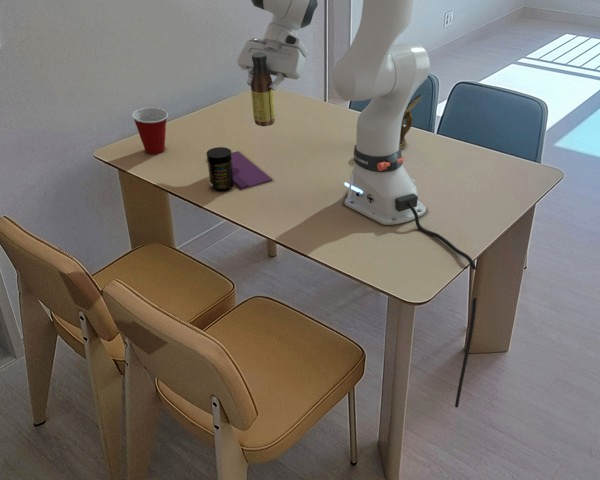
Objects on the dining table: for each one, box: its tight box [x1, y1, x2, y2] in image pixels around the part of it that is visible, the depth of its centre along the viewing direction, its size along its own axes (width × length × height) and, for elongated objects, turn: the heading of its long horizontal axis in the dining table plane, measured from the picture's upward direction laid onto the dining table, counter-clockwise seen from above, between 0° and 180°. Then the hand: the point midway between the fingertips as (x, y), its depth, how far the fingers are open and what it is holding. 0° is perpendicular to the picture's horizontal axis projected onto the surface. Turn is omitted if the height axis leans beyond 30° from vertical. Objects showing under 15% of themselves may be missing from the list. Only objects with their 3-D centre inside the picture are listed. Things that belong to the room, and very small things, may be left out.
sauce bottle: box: [250, 53, 276, 127], centre depth 185 cm, size 7×6×20 cm
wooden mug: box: [399, 93, 422, 151], centre depth 196 cm, size 9×14×18 cm, turn 51°
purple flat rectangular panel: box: [231, 151, 273, 190], centre depth 191 cm, size 22×10×1 cm, turn 30°
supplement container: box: [206, 146, 235, 193], centre depth 179 cm, size 7×7×10 cm
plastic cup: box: [131, 107, 169, 155], centre depth 199 cm, size 11×11×12 cm
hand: (260, 87), depth 184 cm, fingers closed on sauce bottle, 6 cm apart
